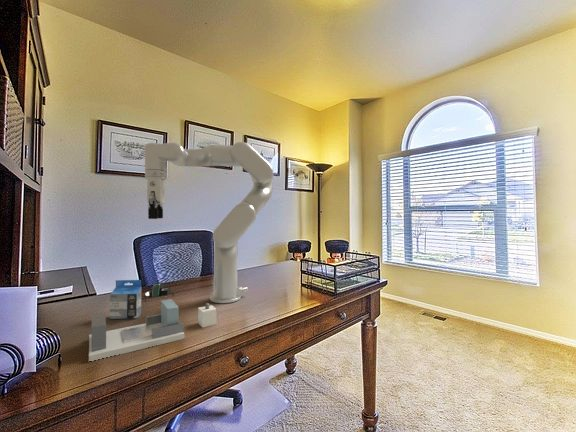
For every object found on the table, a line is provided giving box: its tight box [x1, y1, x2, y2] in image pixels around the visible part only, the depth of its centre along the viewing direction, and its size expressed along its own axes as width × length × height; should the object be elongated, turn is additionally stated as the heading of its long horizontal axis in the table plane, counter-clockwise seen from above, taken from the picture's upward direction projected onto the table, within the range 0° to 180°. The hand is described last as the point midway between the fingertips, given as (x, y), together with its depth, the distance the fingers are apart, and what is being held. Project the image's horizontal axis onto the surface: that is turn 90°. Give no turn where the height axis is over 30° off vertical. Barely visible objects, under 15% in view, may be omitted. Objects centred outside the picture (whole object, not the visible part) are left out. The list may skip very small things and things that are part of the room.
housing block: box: [197, 302, 218, 328], centre depth 89 cm, size 4×4×6 cm
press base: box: [88, 322, 185, 362], centre depth 78 cm, size 22×14×2 cm, turn 125°
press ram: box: [160, 298, 180, 326], centre depth 83 cm, size 3×9×7 cm, turn 35°
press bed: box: [91, 312, 184, 352], centre depth 78 cm, size 22×11×6 cm, turn 125°
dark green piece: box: [145, 281, 175, 298], centre depth 122 cm, size 15×15×6 cm
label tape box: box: [109, 279, 142, 320], centre depth 94 cm, size 9×4×12 cm, turn 95°
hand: (156, 218), depth 110 cm, fingers open, 9 cm apart
